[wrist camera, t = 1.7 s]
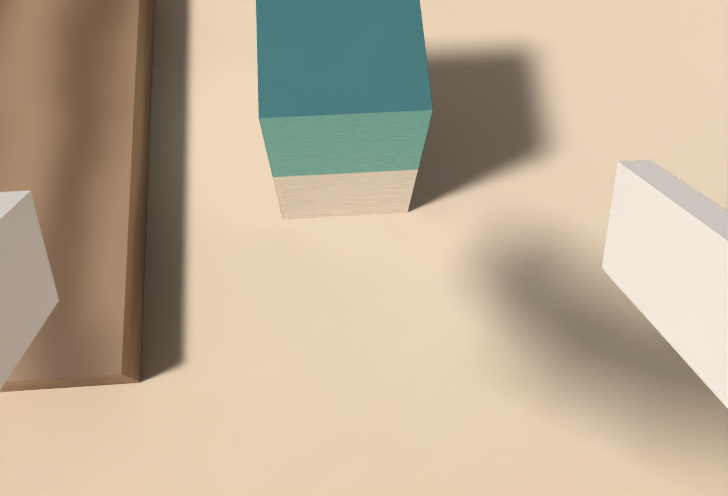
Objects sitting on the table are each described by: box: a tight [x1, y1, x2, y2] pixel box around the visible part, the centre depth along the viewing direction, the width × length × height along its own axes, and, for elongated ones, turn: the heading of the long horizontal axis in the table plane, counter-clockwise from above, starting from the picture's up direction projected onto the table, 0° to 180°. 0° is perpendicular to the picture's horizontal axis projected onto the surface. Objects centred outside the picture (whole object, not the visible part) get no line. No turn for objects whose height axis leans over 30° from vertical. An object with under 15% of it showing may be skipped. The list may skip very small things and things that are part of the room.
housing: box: [256, 0, 433, 219], centre depth 33 cm, size 7×7×11 cm
